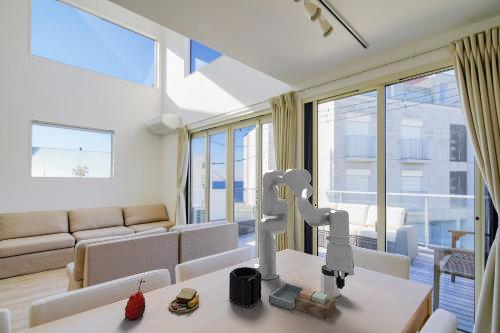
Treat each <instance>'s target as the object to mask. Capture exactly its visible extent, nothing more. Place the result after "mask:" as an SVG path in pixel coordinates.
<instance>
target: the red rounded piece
mask: <svg viewBox="0 0 500 333" xmlns="http://www.w3.org/2000/svg"><path fill="white" fill-rule="evenodd" d="M137 281H138V282H139V286H138V289H137V292H136V293H134V294H131V295H129V299H128V300H127V302H126V304H125V307H124V319H125V320H128V321H136V320H139V319H141V318H143V316H144V314H145V311H146V307H147V306H146V298H145V296H144V294H143V291H141V285H142V283H146V280H145V279H144V280H143V278H141V280H137Z"/></svg>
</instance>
